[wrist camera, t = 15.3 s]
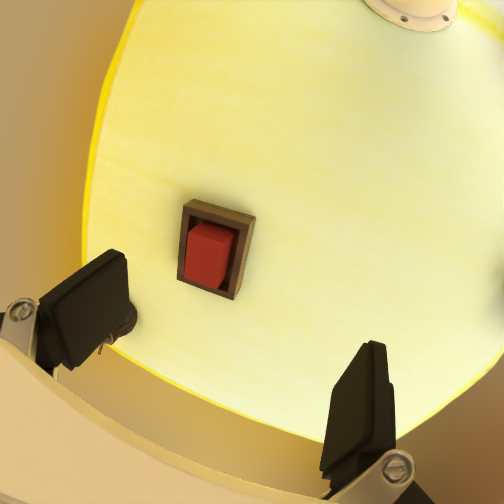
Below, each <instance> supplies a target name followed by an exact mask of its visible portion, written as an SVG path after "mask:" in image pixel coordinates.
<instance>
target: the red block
mask: <svg viewBox="0 0 504 504" xmlns="http://www.w3.org/2000/svg"><path fill="white" fill-rule="evenodd" d="M235 233H236V231H235V230H231V229H228V228H225V227H222V226H219V225H215V224H212V223H209V222H206V221H202V222H201V223H199V224H198V225H197V226H195V227H194V228H193V229H192V230H190V231H189V232H188V240H187V250H186V260H185V271H184V278H186V279H189V280H191V281H194V282H197V283H199V284H202V285H205V286H207V287H210V288H213V289H215V290H216V289H217V288H218V286H219V285H220V284H221V282H222V281H223V280H224V278H225V277H226V275H227V274H228V269H229V263H230V258H231V253H232V248H233V243H234V238H235Z"/></svg>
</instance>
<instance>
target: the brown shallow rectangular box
mask: <svg viewBox="0 0 504 504" xmlns="http://www.w3.org/2000/svg"><path fill="white" fill-rule="evenodd" d="M202 221H206V222H209V223H212V224H215V225H219V226H222V227H225V228H228V229H231V230H235V231H236V233H235V238H234V243H233V248H232V253H231V258H230V263H229V269H228V274H227V275H226V277H225V278H224V280H223V281H222V282H221V284H220V285H219V286H218V288H217V289H216V290H215V289H213V288H210V287H207V286H205V285H202V284H199V283H197V282H194V281H191V280H189V279H186V278H184V271H185V260H186V250H187V240H188V232H189V231H190V230H192V229H193V228H194V227H195V226H197V225H198V224H199V223H201V222H202ZM255 221H256V217H253V216H250V215H247V214H243V213H240V212H237V211H233V210H230V209H227V208H223V207H220V206H216V205H213V204H209V203H206V202H202V201H199V200H195V199H193V200H191V201H190V202H188V203H186V204H184V205H183V213H182V222H181V232H180V243H179V255H178V268H177V280H180V281H182V282H185V283H187V284H190V285H193V286H195V287H198V288H200V289H203V290H206V291H208V292H211V293H214V294H216V295H219V296H222V297H225V298H227V299H230V300H234V299H235V297H236V295H237V294H238V292H239V290H240V287H241V283H242V278H243V274H244V269H245V265H246V261H247V256H248V252H249V247H250V243H251V238H252V234H253V230H254V225H255Z"/></svg>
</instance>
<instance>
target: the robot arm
mask: <svg viewBox="0 0 504 504" xmlns="http://www.w3.org/2000/svg"><path fill="white" fill-rule="evenodd" d="M364 1H365V2H366V4H367V5H368V6H369V7H371V8H372V9H373V10H374V11H375V12H376V13H378V14H379V15H381V16H382V17H383V18H385V19H387V20H389V21H390V22H392V23H394V24H397V25H399V26H401V27H404V28H407V29H411V30H414V31H422V32H433V31H437V30H441V29H443V28H445V27H447V26H448V25H449V24H451V23H452V21H453V20H454V19H455V17H456V15H457V12H458V2H457V0H364ZM443 19H444V20H443ZM401 20H404V22H403V21H401ZM39 302H40V305H38V306H37V305H36V302H35V301H34V300H32V299H30V298H20V299H17V300H15V301H14V302H12V303H11V304H10V305H9V306H8V308H7V310H6V312H3V313H0V504H435V503H434V502H433V501H432V500H431V499H430V498H429V497H428V496H427V495H426V493H425V492H424V491H423V490H422V489H421V488H420V487H419V486H418V485H417V483H416V482H415V481H414V480H413V479H414V477H415V473H416V465H415V462H414V459H413V458H412V457H411V456H410V454H408V453H407V452H405V451H403V450H400V449H396V427H395V401H394V388H393V384H392V383H390V382H389V374H388V362H387V351H386V345H385V344H383V343H379V342H376V341H372V340H370V341H369V342H368V343H363V344H362V346H361V347H360V349H359V351H358V352H357V354H356V355H355V357H354V358H353V360H352V361H351V363H350V364H349V366H348V367H347V369H346V370H345V372H344V373H343V375H342V376H341V377H340V379H339V380H338V382H337V383H336V385H335V386H334V388H333V390H332V394H331V401H330V409H329V415H328V422H327V428H326V435H325V440H324V446H323V452H322V457H321V462H320V471H323V475H322V479H328V480H331V481H330V488H331V489H329V490H328V491H327V492H325V493H324V494H323V495H321V496H320V497H318V498H313V497H309V496H304V495H299V494H295V493H290V492H286V491H282V490H278V489H273V488H270V487H267V486H263V485H259V484H256V483H253V482H249V481H246V480H243V479H239V478H236V477H233V476H230V475H227V474H225V473H222V472H219V471H216V470H213V469H211V468H208V467H206V466H203V465H201V464H198V463H196V462H193V461H191V460H189V459H186V458H184V457H182V456H179V455H177V454H175V453H173V452H171V451H169V450H166V449H164V448H162V447H160V446H158V445H156V444H154V443H152V442H150V441H149V440H146V439H145V438H143V437H141V436H139V435H137V434H136V433H134V432H132V431H130V430H128V429H127V428H125V427H123V426H122V425H120V424H118V423H117V422H115V421H113V420H112V419H110V418H109V417H107V416H105V415H104V414H102V413H101V412H99V411H98V410H96V409H95V408H93V407H92V406H90V405H89V404H87V403H86V402H84V401H83V400H82V399H80V398H79V397H77V396H76V395H75V394H73V393H72V392H71V391H69V390H68V389H67V388H65V387H64V386H63V385H61V384H60V383H59V382H58V366H59V364H60V363H61V362H62V364H63V365H64V366H65V367H66V368H68V369H69V370H71V371H72V370H73V369H74V368H75V367H78V366H80V365H81V364H82V363H83V362H84V361H85V360H86V359H87V358H88V357H89V356H90V355H91V354H92V353H93V352H94V350H95V349H96V348H97V347H98V346H99V345H100V344H101V343H102V342H103V341H104V340H105V339H106V338H107V337H108V336H109V335H110V334H111V333H112V332H113V331H114V330H115V329H116V328H117V327H118V326H119V325H120V324H121V323H122V322H123V321H124V320H125V319H126V318H127V316H128V315H129V312H130V302H129V288H128V270H127V259H126V258H125V255H124V254H123V253H121V252H119V251H117V250H114V249H109V250H107V251H106V252H104V253H103V254H101V255H100V256H98V257H97V258H96V259H94V260H93V261H91V262H90V263H88V264H87V265H85V266H84V267H82V268H81V269H80V270H78V271H77V272H75V273H74V274H73V275H71V276H70V277H68V278H67V279H66V280H64V281H63V282H62V283H60V284H59V285H57V286H56V287H55V288H53V289H52V290H51V291H50V292H48V293H47V294H45V295H44V296H43V297H41V298H40V299H39Z"/></svg>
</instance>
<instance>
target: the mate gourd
mask: <svg viewBox="0 0 504 504" xmlns="http://www.w3.org/2000/svg"><path fill="white" fill-rule="evenodd" d="M129 302H130V301H129ZM136 322H137V310H136V309H135V308H134V306H133V304H132V303H131V302H130V312H129V315H128V316H127V318H126V319H125V320H124V321H123V322H122V323H121V324H120V325H119V326H118V327H117V328H116V329H115V330H114V331H113V332H112V333H111V334H110V335H109V336H108V337H107V338H106V339H105V340H104V341H103V342H102V343H101V344H100V348H99V352H98V354H101V350H102V347H103V344H104V343H106V344H109V345H112V344H113V343H114V342H115V341H116V340H117V338H119V337H121V336H124V335H126V334H128V333H130V332H131V331H132V330H133V328H134V326H135V324H136Z"/></svg>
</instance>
